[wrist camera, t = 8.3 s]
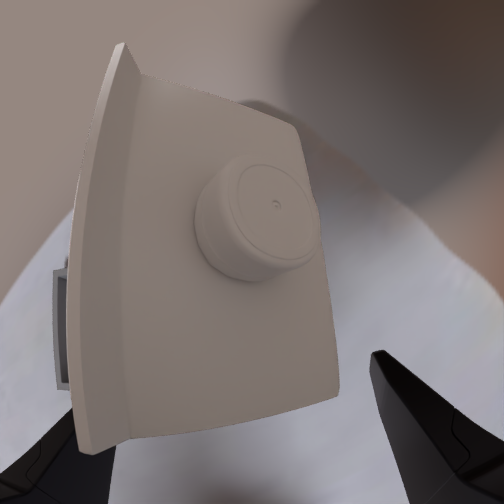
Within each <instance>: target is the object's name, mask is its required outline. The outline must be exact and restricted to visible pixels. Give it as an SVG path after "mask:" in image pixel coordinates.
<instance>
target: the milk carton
mask: <svg viewBox="0 0 504 504" xmlns="http://www.w3.org/2000/svg"><path fill="white" fill-rule="evenodd" d="M66 337H67V361H68V375H69V386H70V395H71V400H72V408H73V416H74V423H75V430H76V436H77V442H78V447H79V451H80V452H82V453H85V454H89V455H95V454H97V453H99V452H102V451H104V450H106V449H108V448H111V447H113V446H115V445H117V444H120V443H122V442H124V441H126V440H128V439H134V438H146V437H156V436H165V435H173V434H181V433H188V432H194V431H201V430H207V429H212V428H218V427H223V426H228V425H233V424H238V423H243V422H247V421H252V420H256V419H261V418H265V417H269V416H273V415H277V414H281V413H284V412H288V411H292V410H295V409H299V408H302V407H306V406H309V405H312V404H316V403H319V402H322V401H325V400H328V399H331V398H334V397H337V396H338V393H339V388H340V385H339V367H338V356H337V346H336V338H335V329H334V322H333V314H332V307H331V300H330V293H329V286H328V280H327V274H326V267H325V261H324V255H323V249H322V244H321V224H320V216H319V212H318V208H317V205H316V202H315V200H314V197H313V195H312V190H311V186H310V181H309V176H308V171H307V167H306V162H305V158H304V154H303V150H302V146H301V142H300V138H299V135H298V133H297V131H296V129H295V127H294V126H293V125H291V124H289V123H287V122H285V121H282V120H280V119H278V118H275V117H273V116H270V115H268V114H265V113H262V112H260V111H257V110H255V109H252V108H249V107H247V106H244V105H241V104H238V103H236V102H233V101H230V100H227V99H224V98H221V97H218V96H215V95H212V94H209V93H206V92H203V91H200V90H197V89H194V88H190V87H187V86H184V85H180V84H177V83H173V82H170V81H166V80H163V79H159V78H155V77H151V76H147V75H143V74H141V72H140V70H139V68H138V66H137V64H136V62H135V61H134V59H133V57H132V55H131V53H130V51H129V49H128V47H127V45H126V43H125V42H123V43H120V44H118V45H116V47H115V50H114V52H113V55H112V58H111V60H110V64H109V66H108V69H107V72H106V75H105V78H104V81H103V84H102V87H101V91H100V94H99V97H98V101H97V104H96V108H95V111H94V115H93V119H92V123H91V126H90V130H89V134H88V139H87V143H86V148H85V152H84V157H83V162H82V167H81V171H80V175H79V180H78V185H77V191H76V197H75V204H74V211H73V219H72V227H71V236H70V246H69V258H68V273H67V297H66Z"/></svg>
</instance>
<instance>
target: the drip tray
mask: <svg viewBox="0 0 504 504" xmlns="http://www.w3.org/2000/svg"><path fill="white" fill-rule="evenodd" d="M67 273H68V268H64V269H59V270H53V344H54V360H55V372H56V382H57V390H68V391H70V386H69V375H68V361H67V337H66V297H67Z"/></svg>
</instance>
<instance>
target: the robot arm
mask: <svg viewBox="0 0 504 504" xmlns="http://www.w3.org/2000/svg"><path fill="white" fill-rule="evenodd" d="M370 377H371V381H372V385H373V389H374V393H375V397H376V402H377V406H378V410H379V414H380V417H381V420H382V423H383V425H384V428H385V431H386V434H387V437H388V440H389V442H390V445H391V448H392V451H393V454H394V457H395V460H396V463H397V466H398V469H399V472H400V475H401V478H402V481H403V484H404V487H405V490H406V494H407V497H408V500H409V503H410V504H504V441H502V440H501V439H499V438H498V437H496V436H494V435H493V434H491V433H489V432H488V431H486V430H485V429H483V428H482V427H480V426H479V425H477V424H476V423H474V422H473V421H472V420H470V419H469V418H468V417H466V416H465V415H464V414H462V413H461V412H460V411H459V410H458V409H456V408H455V409H454V406H453V405H451V404H450V403H449V402H448V401H446V400H445V399H444V398H443V397H442V396H440V395H439V394H438V393H437V392H435V391H434V390H433V389H432V388H431V387H429V386H428V385H427V384H426V383H424V382H423V381H422V380H421V379H419V378H418V377H417V376H416V375H415V374H413V373H412V372H411V371H410V370H408V369H407V368H406V367H405V366H403V365H402V364H401V363H400V362H399V361H397V360H396V359H395V358H394V357H392V356H391V355H390V354H389V353H387V352H386V351H385V350H379V351H375V352H372V354H371V360H370ZM115 450H116V445H115V446H113V447H111V448H108V449H106V450H104V451H102V452H99V453H97V454H95V455H89V454H85V453H82V452H80V451H79V447H78V442H77V436H76V430H75V423H74V416H73V408H71V409H70V410H69V411H68V412H67V413H66V414H65V415H64V416H63V417H62V418H61V419H60V420H59V421H58V422H57V423H56V424H55V425H54V426H53V427H52V428H51V429H50V430H49V431H48V432H47V433H46V434H45V435H44V436H43V437H42V438H41V439H40V440H39V441H38V442H37V443H36V444H35V445H34V446H32V447H31V448H30V449H29V450H28V451H27V452H26V453H25V454H24V455H23V456H21V457H20V458H19V459H18V460H17V461H15V462H14V463H13V464H12V465H10V466H9V467H8V468H7V469H5V470H4V471H3V472H2V473H0V504H108V499H109V491H110V484H111V476H112V470H113V463H114V457H115Z"/></svg>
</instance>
